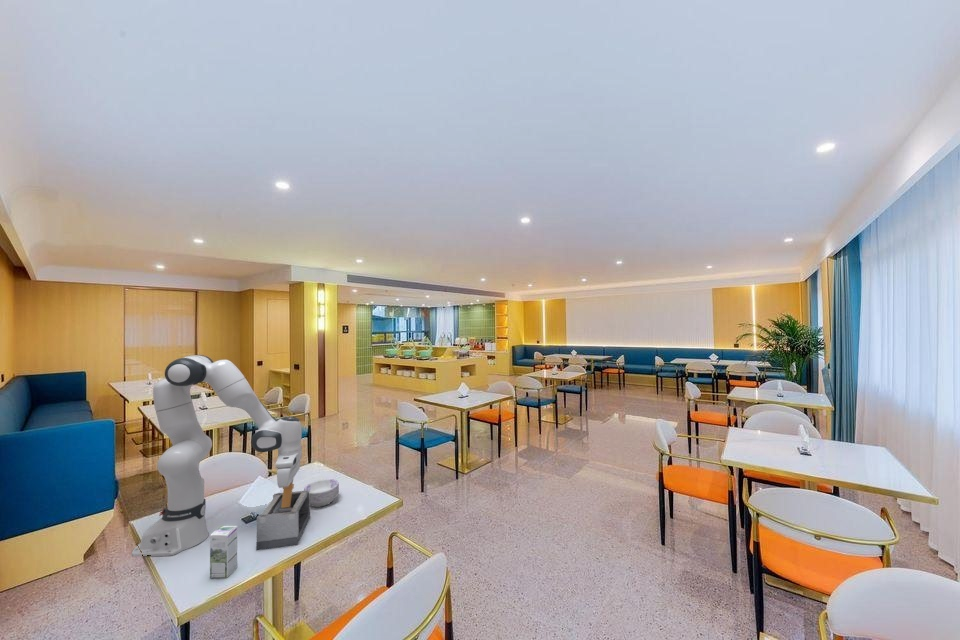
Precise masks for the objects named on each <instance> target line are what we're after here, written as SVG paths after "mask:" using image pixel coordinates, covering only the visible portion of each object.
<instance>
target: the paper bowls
mask: <svg viewBox="0 0 960 640" xmlns="http://www.w3.org/2000/svg"><path fill="white" fill-rule="evenodd" d="M305 490H310V507H311V506H312V507H315V508H316V507H317V508H318V506H319V507H324V506H327V505H329V504H330V502H331V503H332V502H333V501H334V498H336V497H337V496H338V495H339V494H340V493H339V492H340V491H339V490H340V483H339V481H338V480H336V479H333V478H326V479H324V478H323V479H319V480H316V481H312V482H310V483H309V484H307V485H305V487H304V489H303V491H305Z"/></svg>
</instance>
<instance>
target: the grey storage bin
mask: <svg viewBox="0 0 960 640" xmlns="http://www.w3.org/2000/svg"><path fill="white" fill-rule="evenodd" d="M282 498H283V492H277V493H274V494H273V495H272V500H271V501H270V502H269V504H268V505H267V506H266V508H265V509H264V510H263V512H262V513H261V514H259V515H257V517H256V543H255V545H256V547H255V551H265V550H271V549H278V548H279V549H280V548H286V547H287V548H288V547H294V546H298V545H299V542H300V541H301V538H302V536H303V534H304V531H305V530H306V528H307V525H308V523H309V520H310V519H311V505H310V490H305V491H304V490H301V491H292V498H291V505H290V507H288V508H292V510H291V512H285V513H279V509H282V508H281V505H282Z"/></svg>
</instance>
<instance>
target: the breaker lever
mask: <svg viewBox="0 0 960 640" xmlns="http://www.w3.org/2000/svg"><path fill="white" fill-rule="evenodd" d="M294 488H295V483H293V484H289V486H288V487H284V488H282V489H283V492H282V493H283V498H282V505H281V508H282V509H279V513H285V512H291V510H292V508H288V507H290V505H291V498H292V492H293V489H294Z"/></svg>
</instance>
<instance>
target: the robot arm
mask: <svg viewBox="0 0 960 640" xmlns="http://www.w3.org/2000/svg"><path fill="white" fill-rule="evenodd" d="M164 377H165V378H163V379H161V380H160V381H158V382H157V383H155V384H154V386H153V387H152V391H153V393H152V394H153V395H152V396H153V406H154V410H155V414H156V417H157V421H158V426H159V430H160V431H161V432H162V433H163V434H165V435H166V436H167V438H168V439H169V440H170V442H171V444H172V446H171V447H169V448H168V449H166V450H165V451H164V452H163V453H162V454H161V456H160V457H159V458H158V461H157V462H156V469H157V471H158V472H159V474H160V475H161V476H163V477H164V480H165V483H166V489H167V505H166V507H164V508H163V509H162V511H160V512H159V517H161V516H162V517H161V518H160V519H159V520H157V521H156V522H154V523H153V524H152V525H151V526H150V527H149V528H148V529H146V530H145V532H144V533H143V535H142V536H141V541H140V543H138V544H137V545H138V546H139V548H140V550H141V551H142V553H141V552H140V550H139V548H138V546H137V545H136V546H135V547H134V548H133V550H132V551H131V557H148V556H147V555H151V556H150V557H163V556H164V557H167V556H168V557H169V556H174V555H176V554H179V553H180V552H183V551H185V550H187V549H190V548H193V547H195V546H197V545H199V544H201V543H202V542H204V541H205V540H207V538H208V537H210V532H209V530H208V527H207V526H208V525H207V522H206V512H207V509H206V507H207V505H206V502H207V501H206V499H205V479H204V478H203V477H202V475H201V472H200V463H201V462H202V460H204V459H205V458H206V457H208V455H209V454H210V452H211V450H212V447H213V441H212V438H211V437H210V436H208V435H207V434H206V433H205V432H204V430H203V428H202V426H201V424H200V423H199V421H198V418H197V414H196V410H195V407H194V403H193V399H192V395H191V388H192V387H193V386H195V385H198V384H201V383H206V384H208V385H209V386H211V388H212V390H213V391H214V393H215V394H216V396H217V397H218V399H219V400H220V401H221V402H222V403H223V404H224V405H226V406H227V407H230V408H236V409H241V410H243V411H244V412H246V413H247V415H249V417H250V418H251V419H252V420H253V422H254V423H255V425H256V426H257V429H258V430H257V431H256V432H255V433H254V434H253V435H252V437H251V439H250V445H251V447H252V448H253V450H254V451H256V452H258V453H266V452H271V451H275V450H277V459H276V462H275V465H274V466H275V469H276V481H277V483H276V484H277V486H278V488H279V489H280V488H281V489H283V488H284V487H288V486H289V484H294V478H295V476H296V475H297V474H298V472H299V470H300V468H301V460H302V458H303V457H302V454H303V453H302V452H303V451H302V447H303V446H302V442H301V441H302V433H303V432H302V423H301V421H300V419H299V418H297V417H295V416H282V417H280V419H276V418H275V417H274V416H272V414H271V413H270V412H269V410H268V409H267V408H266V406H265V405H264V404H263V403H262V402H263V401H261V400H260V399H259V397H258V396H257V395H256V393H255V392H254V390H253V388H252V387H251V385H250V383H249V382H248V380H247V379H246V377H245V375H244V374H243V373H242V371H241V370H240V369H239V368H238V367H237V366H236V365H235V363H233V362H232V361H230V360H229V359H219V360H216V361H213V359H211V358H210V357H209V356H207V355H203V354H196V355H195V354H194V355H187V356H184V357H180V358H177V359H174V360H173V361H171V362H170V363H168V365H167V366H166V367H165V369H164ZM143 552H144V553H143ZM142 554H143V556H142Z"/></svg>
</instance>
